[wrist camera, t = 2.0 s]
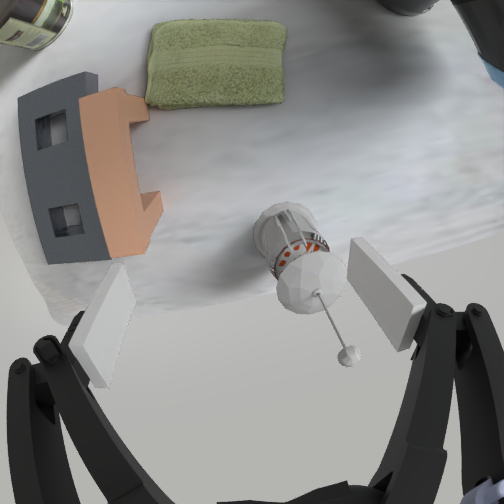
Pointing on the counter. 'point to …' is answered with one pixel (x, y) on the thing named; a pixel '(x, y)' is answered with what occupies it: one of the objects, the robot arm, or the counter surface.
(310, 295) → the french press
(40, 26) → the coffee can
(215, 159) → the counter surface
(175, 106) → the washcloth
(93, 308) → the robot arm
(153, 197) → the staple
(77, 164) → the grey slotted base block
